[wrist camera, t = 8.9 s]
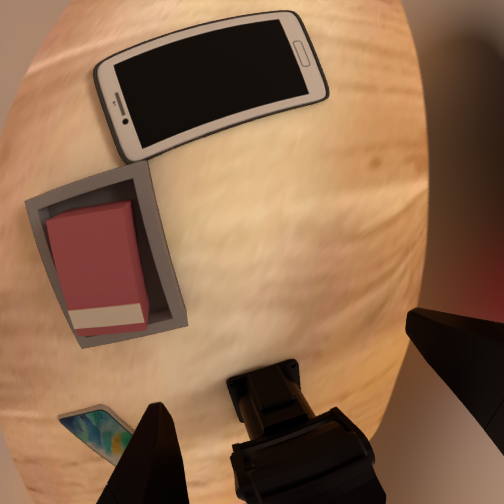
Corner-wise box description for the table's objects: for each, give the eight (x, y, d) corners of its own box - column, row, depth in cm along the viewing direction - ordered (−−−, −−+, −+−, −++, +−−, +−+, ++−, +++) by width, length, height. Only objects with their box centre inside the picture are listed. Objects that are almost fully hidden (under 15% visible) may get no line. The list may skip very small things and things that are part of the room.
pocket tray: (186, 310, 20) (188, 325, 18) (87, 332, 18) (81, 348, 16) (147, 160, 16) (144, 160, 14) (38, 196, 15) (24, 201, 13)
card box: (67, 209, 15) (45, 221, 12) (132, 198, 16) (122, 208, 13) (90, 308, 17) (77, 337, 14) (149, 302, 18) (146, 331, 15)
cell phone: (327, 101, 18) (334, 99, 17) (127, 170, 16) (124, 170, 15) (292, 13, 15) (297, 8, 14) (92, 69, 13) (88, 65, 12)
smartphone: (137, 481, 25) (54, 418, 19) (137, 476, 26) (56, 412, 20) (184, 473, 26) (104, 406, 20) (183, 467, 27) (105, 400, 21)
